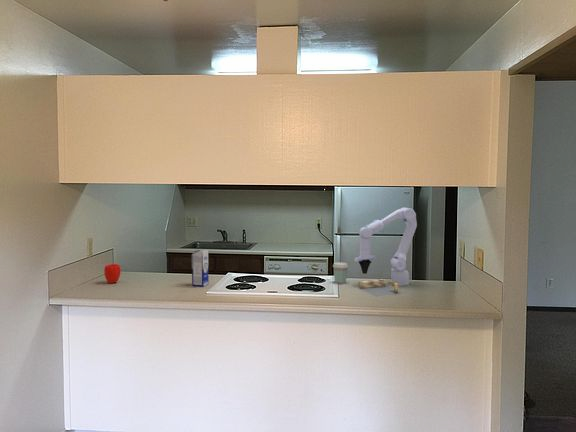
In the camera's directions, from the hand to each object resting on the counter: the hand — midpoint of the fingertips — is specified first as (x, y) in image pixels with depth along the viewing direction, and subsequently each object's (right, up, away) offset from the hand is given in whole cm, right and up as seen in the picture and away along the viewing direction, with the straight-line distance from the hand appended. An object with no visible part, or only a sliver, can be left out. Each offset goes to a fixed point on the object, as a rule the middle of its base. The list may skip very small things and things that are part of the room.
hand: (364, 273), depth 249 cm
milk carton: (-91, -7, +2) cm, 92 cm away
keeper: (+12, -8, -16) cm, 22 cm away
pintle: (+9, -3, -3) cm, 10 cm away
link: (+3, -6, -5) cm, 9 cm away
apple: (-143, -7, +8) cm, 143 cm away
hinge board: (+6, -8, -11) cm, 15 cm away
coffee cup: (-13, -7, +6) cm, 16 cm away
